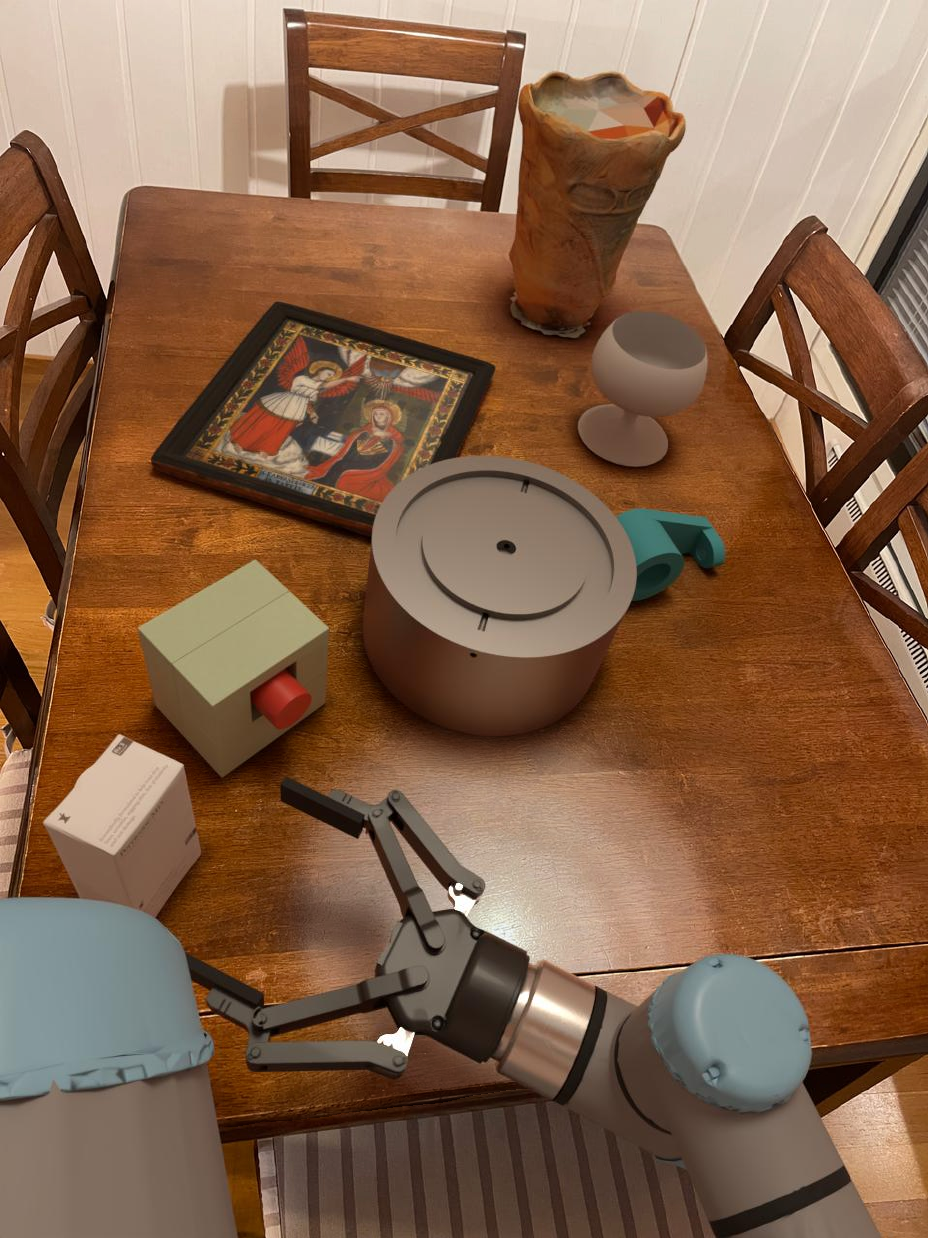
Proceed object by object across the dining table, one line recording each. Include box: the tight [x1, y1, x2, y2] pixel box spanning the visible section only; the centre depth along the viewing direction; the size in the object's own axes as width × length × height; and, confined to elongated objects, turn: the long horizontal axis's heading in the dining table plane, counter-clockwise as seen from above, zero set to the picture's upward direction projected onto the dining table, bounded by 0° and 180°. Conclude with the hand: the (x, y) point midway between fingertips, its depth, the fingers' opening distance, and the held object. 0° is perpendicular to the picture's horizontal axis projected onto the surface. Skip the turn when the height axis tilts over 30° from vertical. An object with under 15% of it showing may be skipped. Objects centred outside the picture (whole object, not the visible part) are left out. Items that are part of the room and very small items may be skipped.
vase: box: [508, 70, 687, 339], centre depth 121 cm, size 21×20×30 cm
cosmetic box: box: [42, 733, 202, 919], centre depth 66 cm, size 8×6×15 cm
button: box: [250, 669, 312, 729], centre depth 75 cm, size 6×4×4 cm
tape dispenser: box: [615, 508, 726, 602], centre depth 99 cm, size 7×15×8 cm, turn 111°
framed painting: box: [150, 301, 496, 538], centre depth 108 cm, size 38×35×3 cm
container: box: [362, 455, 637, 737], centre depth 88 cm, size 25×25×13 cm
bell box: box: [137, 559, 330, 779], centre depth 79 cm, size 10×12×12 cm
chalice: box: [577, 310, 709, 468], centre depth 110 cm, size 14×14×15 cm
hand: (230, 867), depth 61 cm, fingers open, 13 cm apart
